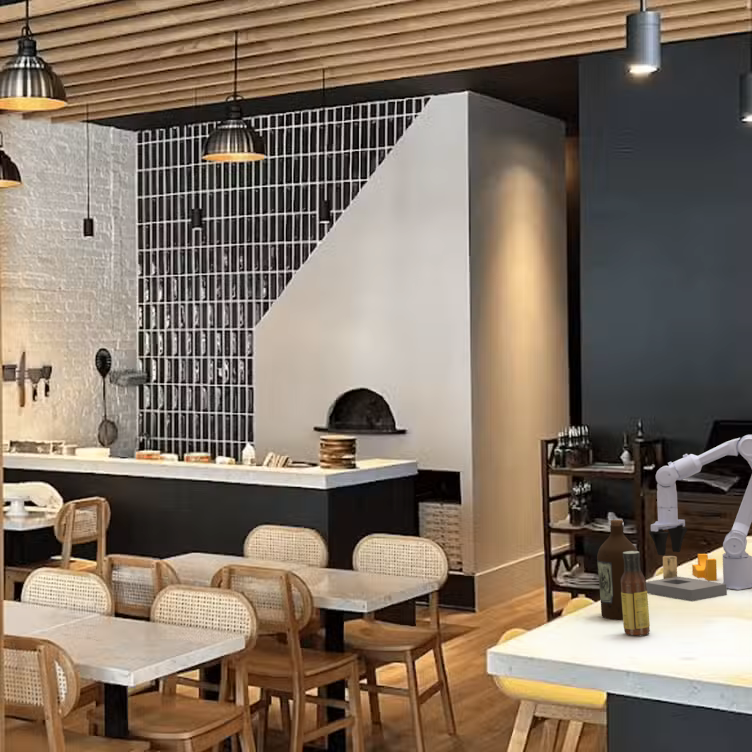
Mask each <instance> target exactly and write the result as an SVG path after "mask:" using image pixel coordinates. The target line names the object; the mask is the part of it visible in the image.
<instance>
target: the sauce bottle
mask: <svg viewBox="0 0 752 752" xmlns="http://www.w3.org/2000/svg"><path fill="white" fill-rule="evenodd" d="M623 558H624V573H623V575H622V577H621V597H622V611H623V620H622V621H623V622H622V623H623V630H624V633H625V634H626V635H627V636H634V637H637V636H640V635H641V637H642V636H646V635H648V634H650V632H651V629H650V626H651V623H650V612H649V601H648V600H649V598H648V593H647V588H646V582H647V580H646V578H645V576H644V574H643V572H642V570H641V561H640V558H641V553H640V551H638V550H637V551H627V552H623Z"/></svg>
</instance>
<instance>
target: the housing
mask: <svg viewBox="0 0 752 752" xmlns="http://www.w3.org/2000/svg"><path fill="white" fill-rule="evenodd" d="M646 588H647V595H648V594H649V595H654V596H661V597H665V596H666V598H671V597H672V599H677V598H678V600H684V601H690V602H694V601H701V600H705V599H711V598H716V597H721V596H722V597H723V596H726V595H728V592H727V591H728V590H727V589H728V588H727V587H726V584H723V582H716V581H708V580H705V579H704V580H703V579H699V578H697V579H696V578H690V577H684V576H677V577H672V578H666V579H663V578H661V579H656V580H655V579H653V580H649V581H646Z"/></svg>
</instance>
